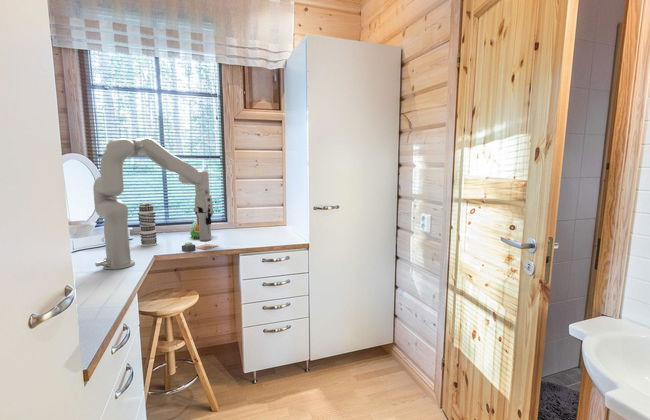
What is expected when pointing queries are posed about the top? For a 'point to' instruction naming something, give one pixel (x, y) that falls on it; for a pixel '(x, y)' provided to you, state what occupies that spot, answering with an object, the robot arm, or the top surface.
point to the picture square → (205, 246)
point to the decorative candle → (147, 224)
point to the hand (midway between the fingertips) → (204, 223)
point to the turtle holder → (194, 229)
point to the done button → (188, 244)
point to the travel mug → (203, 226)
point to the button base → (188, 248)
